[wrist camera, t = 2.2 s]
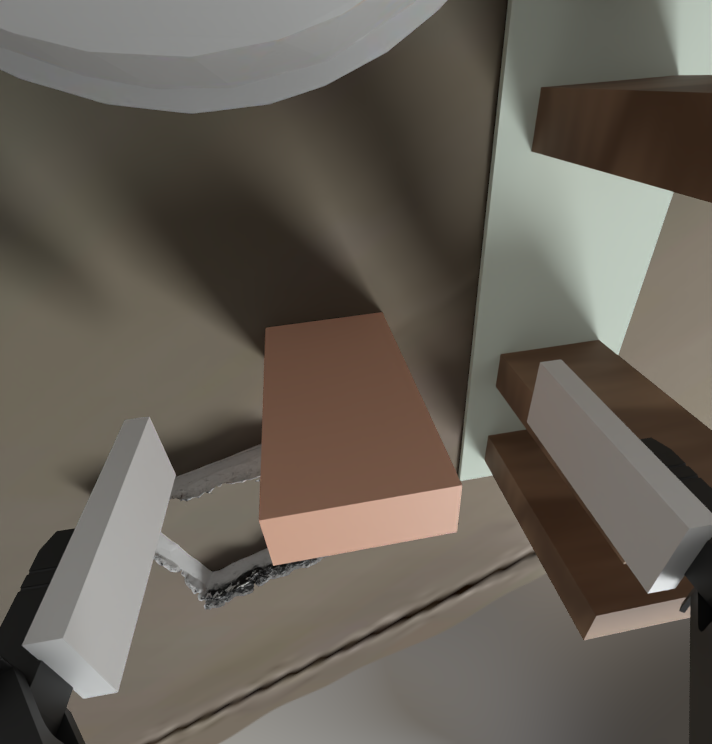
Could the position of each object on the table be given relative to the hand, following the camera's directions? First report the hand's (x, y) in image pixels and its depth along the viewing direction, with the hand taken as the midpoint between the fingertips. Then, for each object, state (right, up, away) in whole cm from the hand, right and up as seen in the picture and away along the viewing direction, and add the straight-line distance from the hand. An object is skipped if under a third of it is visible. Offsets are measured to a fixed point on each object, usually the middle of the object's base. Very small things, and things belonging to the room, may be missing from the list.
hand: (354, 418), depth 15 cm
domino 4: (+10, -2, +10) cm, 15 cm away
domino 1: (-1, +3, +5) cm, 6 cm away
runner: (+9, +7, +4) cm, 12 cm away
